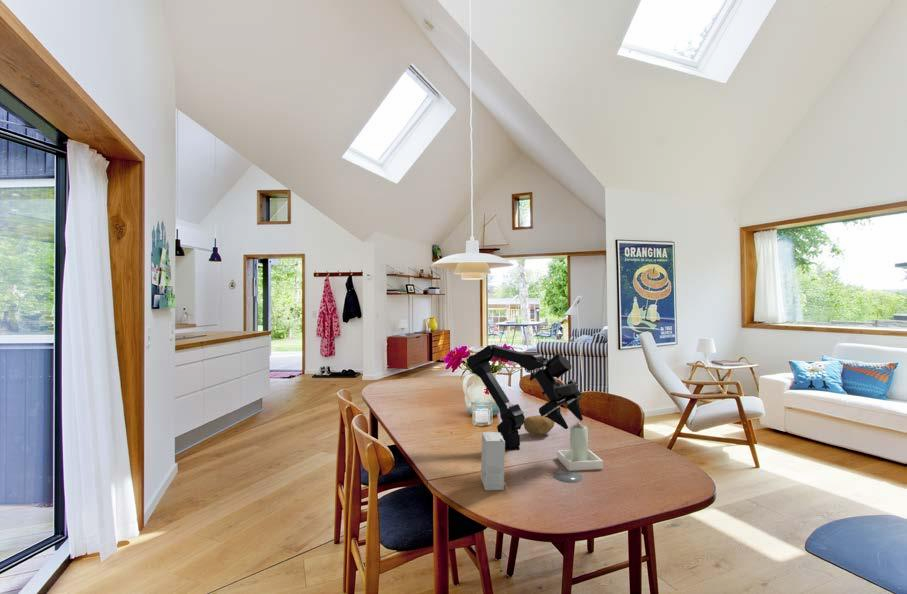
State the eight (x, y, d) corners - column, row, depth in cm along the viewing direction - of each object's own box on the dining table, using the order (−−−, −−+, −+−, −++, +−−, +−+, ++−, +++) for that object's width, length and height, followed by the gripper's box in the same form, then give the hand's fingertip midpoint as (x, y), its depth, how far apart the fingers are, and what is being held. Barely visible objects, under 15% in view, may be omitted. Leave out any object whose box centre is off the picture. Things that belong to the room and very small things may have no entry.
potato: (560, 435, 182) (560, 416, 182) (532, 440, 176) (532, 420, 176) (546, 429, 191) (545, 410, 191) (518, 433, 184) (518, 414, 185)
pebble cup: (579, 467, 145) (578, 425, 145) (566, 462, 150) (566, 421, 150) (591, 464, 148) (591, 423, 148) (579, 459, 153) (578, 419, 153)
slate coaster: (558, 485, 133) (558, 483, 133) (548, 473, 142) (548, 471, 142) (587, 483, 134) (587, 481, 134) (576, 472, 143) (576, 470, 143)
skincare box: (480, 480, 137) (480, 431, 137) (499, 479, 138) (499, 431, 138) (485, 491, 129) (485, 440, 129) (505, 490, 129) (505, 439, 129)
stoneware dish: (569, 472, 143) (569, 462, 143) (557, 459, 154) (557, 450, 154) (603, 470, 144) (603, 460, 144) (588, 458, 155) (588, 449, 155)
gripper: (547, 380, 146) (575, 422, 140) (578, 367, 159) (605, 406, 153) (527, 395, 153) (553, 437, 147) (558, 382, 166) (583, 420, 160)
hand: (574, 424), depth 151 cm, fingers open, 9 cm apart
